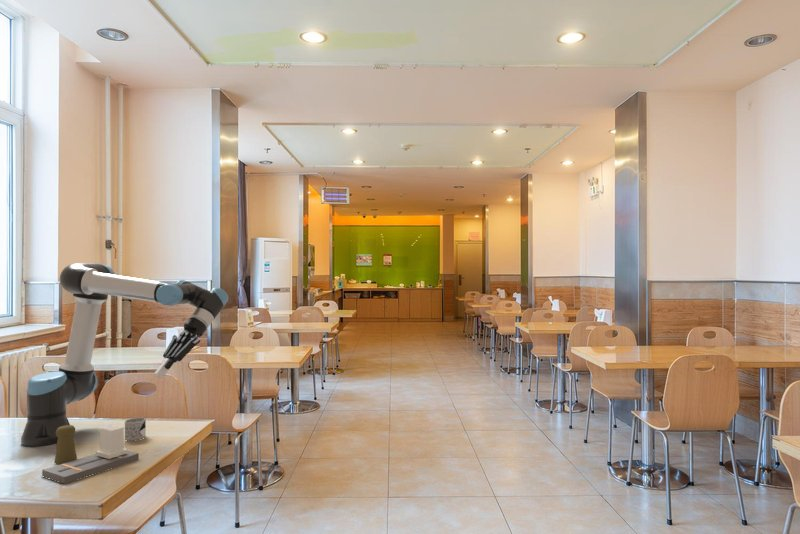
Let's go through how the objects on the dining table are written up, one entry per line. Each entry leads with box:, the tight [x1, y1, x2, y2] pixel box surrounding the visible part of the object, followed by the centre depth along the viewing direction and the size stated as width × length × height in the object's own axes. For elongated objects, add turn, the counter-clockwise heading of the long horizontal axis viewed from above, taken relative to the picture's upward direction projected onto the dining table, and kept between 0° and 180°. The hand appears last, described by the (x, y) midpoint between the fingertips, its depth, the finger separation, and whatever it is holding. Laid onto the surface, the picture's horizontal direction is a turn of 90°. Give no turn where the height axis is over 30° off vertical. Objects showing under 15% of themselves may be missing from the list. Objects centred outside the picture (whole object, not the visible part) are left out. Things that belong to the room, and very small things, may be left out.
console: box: [41, 450, 140, 485], centre depth 156 cm, size 22×12×2 cm, turn 150°
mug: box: [124, 417, 147, 442], centre depth 187 cm, size 10×7×7 cm
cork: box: [53, 424, 78, 465], centre depth 163 cm, size 6×6×11 cm
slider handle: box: [95, 424, 129, 459], centre depth 161 cm, size 6×7×8 cm
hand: (157, 375), depth 176 cm, fingers closed
